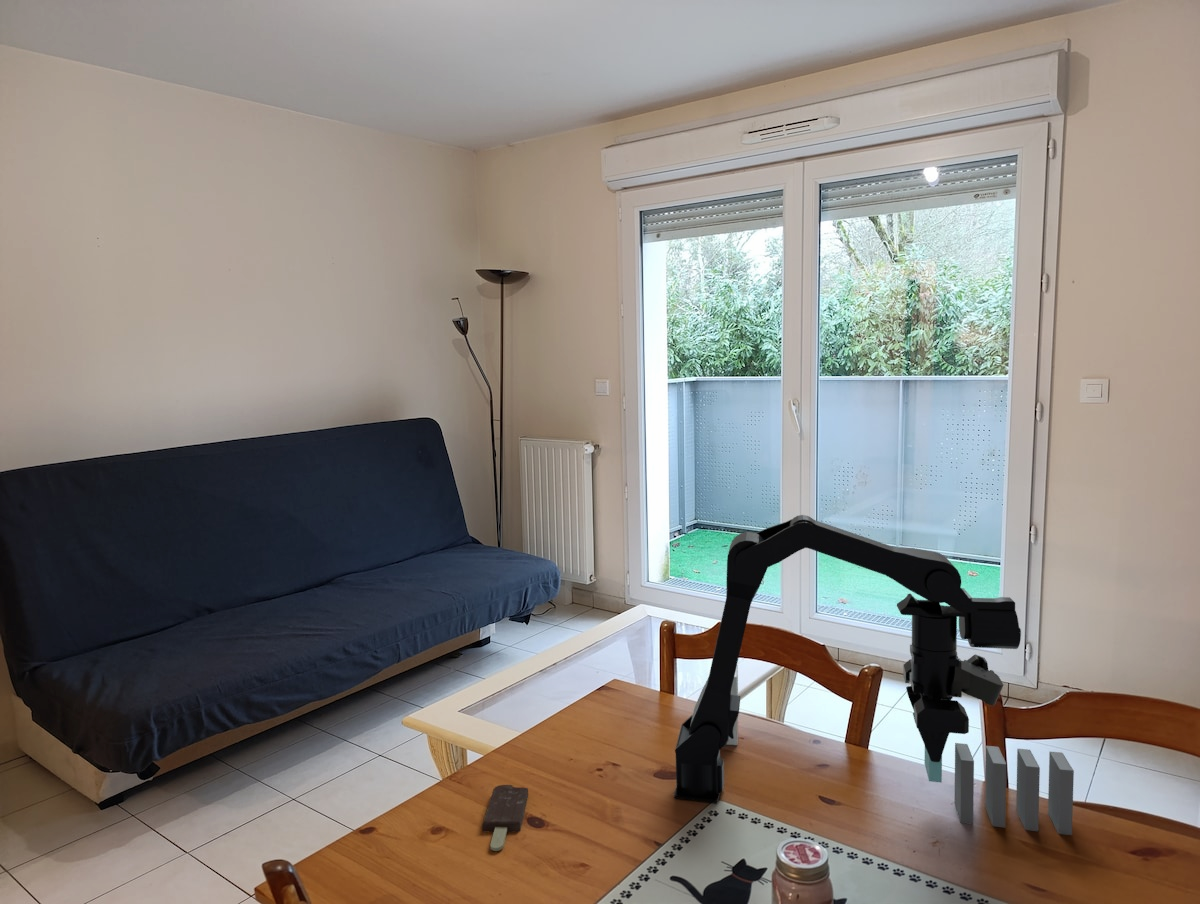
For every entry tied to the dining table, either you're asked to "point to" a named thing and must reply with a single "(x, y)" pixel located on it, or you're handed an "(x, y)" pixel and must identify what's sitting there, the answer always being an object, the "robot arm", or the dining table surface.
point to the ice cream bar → (505, 813)
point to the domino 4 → (1060, 793)
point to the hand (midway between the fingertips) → (932, 752)
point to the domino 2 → (995, 786)
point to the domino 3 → (1027, 789)
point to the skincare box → (735, 739)
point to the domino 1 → (964, 783)
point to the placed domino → (933, 769)
